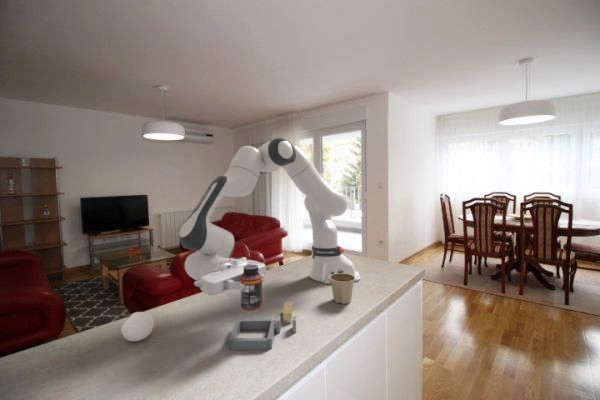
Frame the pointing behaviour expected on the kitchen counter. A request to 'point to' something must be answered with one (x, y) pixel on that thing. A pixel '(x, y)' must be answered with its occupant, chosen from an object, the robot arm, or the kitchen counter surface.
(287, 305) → the bar
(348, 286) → the flower pot
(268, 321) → the dock
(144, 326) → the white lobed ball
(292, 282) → the kitchen counter surface
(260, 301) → the supplement bottle
